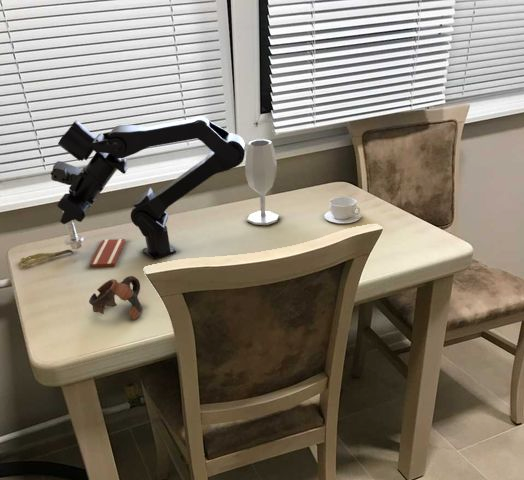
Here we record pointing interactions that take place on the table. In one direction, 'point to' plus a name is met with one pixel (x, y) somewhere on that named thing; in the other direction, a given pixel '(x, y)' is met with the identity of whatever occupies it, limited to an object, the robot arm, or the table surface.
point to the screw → (73, 236)
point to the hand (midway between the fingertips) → (63, 221)
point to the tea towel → (107, 253)
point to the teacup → (343, 210)
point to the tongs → (42, 257)
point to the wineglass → (261, 177)
